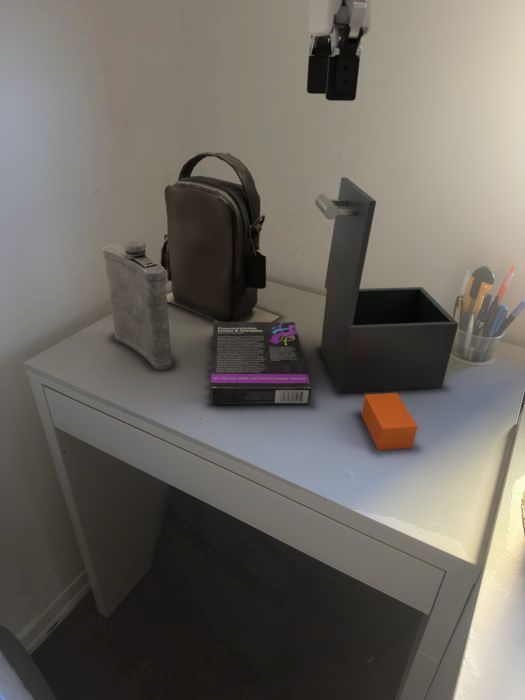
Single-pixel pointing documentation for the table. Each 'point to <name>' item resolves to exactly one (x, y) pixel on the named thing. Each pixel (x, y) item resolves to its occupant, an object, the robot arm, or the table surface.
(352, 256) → the bin lid
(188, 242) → the shoulder bag
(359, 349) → the bin
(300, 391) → the box
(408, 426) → the orange rectangular block
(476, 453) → the table surface
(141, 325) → the flask
